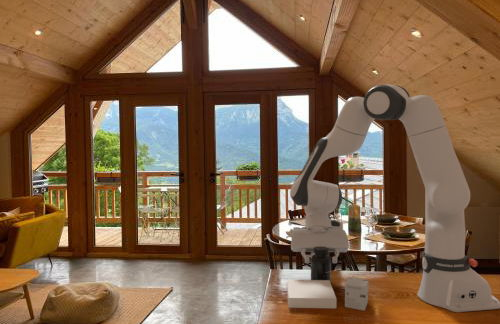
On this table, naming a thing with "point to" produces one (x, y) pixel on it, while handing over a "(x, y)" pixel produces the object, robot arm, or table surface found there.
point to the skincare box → (356, 293)
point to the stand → (310, 294)
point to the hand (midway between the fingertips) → (321, 262)
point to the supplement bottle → (321, 264)
